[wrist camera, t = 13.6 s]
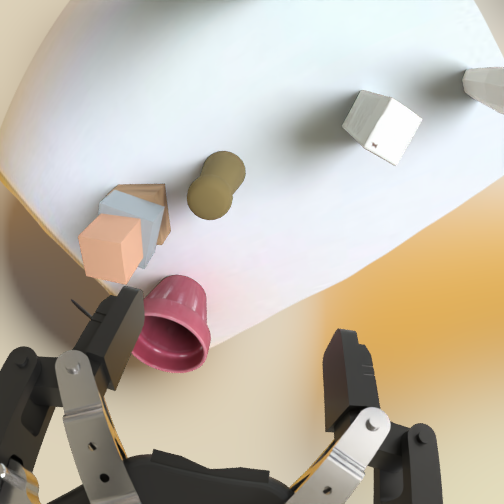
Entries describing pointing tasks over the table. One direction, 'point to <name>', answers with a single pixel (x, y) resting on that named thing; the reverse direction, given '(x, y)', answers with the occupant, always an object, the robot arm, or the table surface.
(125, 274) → the cube
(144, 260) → the top block
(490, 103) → the low poly bottle
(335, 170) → the table surface
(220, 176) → the cork
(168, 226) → the bottom block
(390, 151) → the skincare box
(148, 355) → the plant pot
